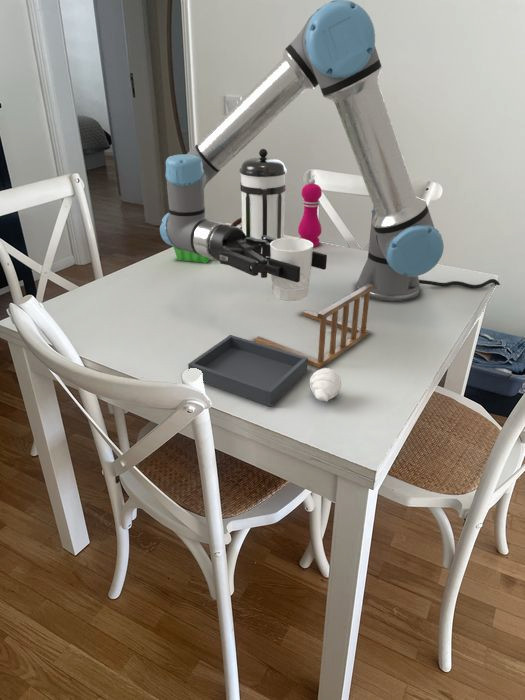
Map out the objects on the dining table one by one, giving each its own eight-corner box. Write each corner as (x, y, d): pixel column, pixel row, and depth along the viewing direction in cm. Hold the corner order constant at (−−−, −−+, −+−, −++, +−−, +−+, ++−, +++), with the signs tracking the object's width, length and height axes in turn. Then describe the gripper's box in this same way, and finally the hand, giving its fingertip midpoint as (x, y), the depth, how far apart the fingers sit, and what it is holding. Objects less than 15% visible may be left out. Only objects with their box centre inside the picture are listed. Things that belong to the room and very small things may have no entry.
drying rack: (305, 313, 124) (308, 266, 118) (368, 334, 115) (374, 285, 109) (254, 342, 111) (254, 292, 106) (319, 368, 102) (323, 315, 97)
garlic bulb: (305, 409, 91) (306, 382, 88) (310, 390, 96) (311, 364, 93) (337, 413, 90) (340, 386, 87) (340, 393, 95) (343, 367, 92)
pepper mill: (324, 246, 166) (328, 180, 156) (302, 248, 164) (305, 181, 154) (315, 239, 172) (319, 175, 162) (294, 241, 170) (296, 176, 160)
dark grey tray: (307, 371, 101) (308, 357, 100) (270, 406, 91) (270, 392, 90) (230, 347, 109) (230, 334, 108) (188, 377, 99) (187, 363, 98)
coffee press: (224, 256, 157) (220, 148, 143) (264, 245, 167) (264, 142, 152) (264, 272, 146) (265, 157, 132) (304, 259, 156) (309, 150, 141)
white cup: (284, 283, 108) (285, 234, 103) (318, 292, 104) (321, 242, 99) (261, 296, 102) (261, 245, 97) (296, 306, 98) (298, 254, 93)
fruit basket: (218, 256, 158) (216, 217, 152) (208, 266, 150) (206, 226, 145) (181, 253, 160) (178, 215, 155) (170, 263, 153) (167, 223, 147)
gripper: (253, 247, 119) (341, 272, 106) (185, 273, 105) (276, 305, 92) (253, 214, 115) (344, 235, 102) (182, 235, 101) (277, 263, 88)
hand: (312, 268), depth 97 cm, fingers closed on white cup, 8 cm apart
